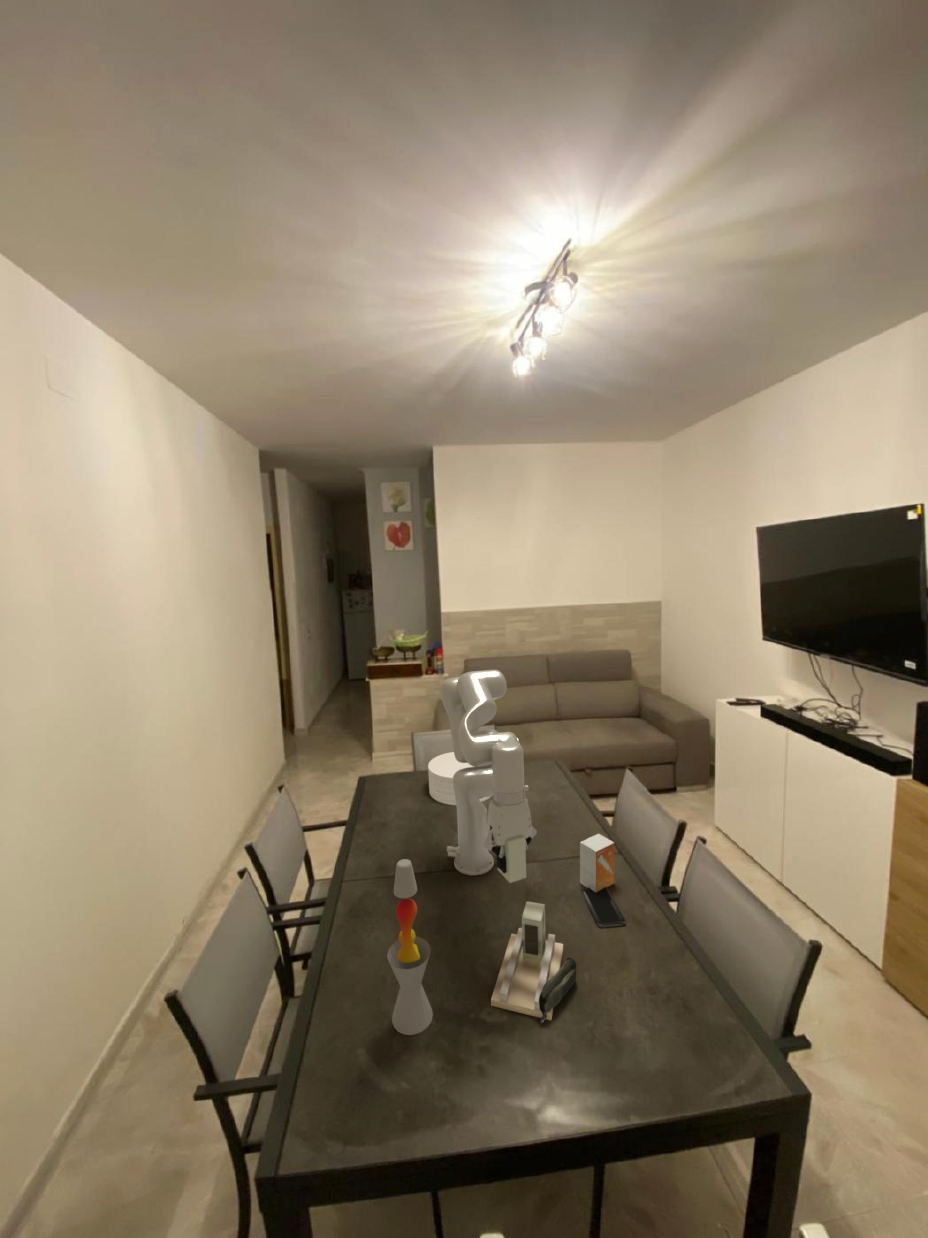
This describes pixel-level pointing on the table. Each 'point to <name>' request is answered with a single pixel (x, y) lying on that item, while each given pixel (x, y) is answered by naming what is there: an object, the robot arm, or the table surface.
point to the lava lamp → (409, 959)
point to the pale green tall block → (515, 860)
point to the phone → (603, 908)
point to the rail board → (527, 965)
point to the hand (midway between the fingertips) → (511, 866)
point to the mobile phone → (557, 987)
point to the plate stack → (444, 777)
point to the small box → (597, 862)
